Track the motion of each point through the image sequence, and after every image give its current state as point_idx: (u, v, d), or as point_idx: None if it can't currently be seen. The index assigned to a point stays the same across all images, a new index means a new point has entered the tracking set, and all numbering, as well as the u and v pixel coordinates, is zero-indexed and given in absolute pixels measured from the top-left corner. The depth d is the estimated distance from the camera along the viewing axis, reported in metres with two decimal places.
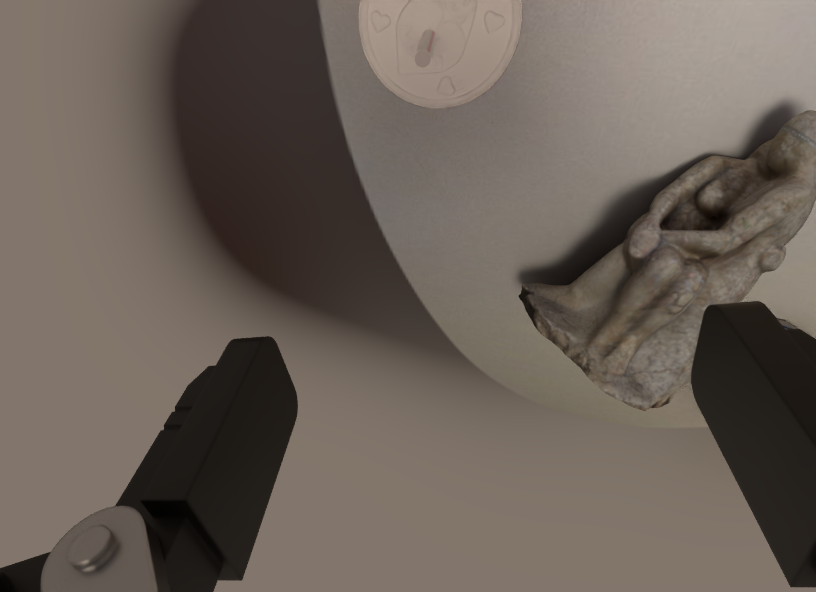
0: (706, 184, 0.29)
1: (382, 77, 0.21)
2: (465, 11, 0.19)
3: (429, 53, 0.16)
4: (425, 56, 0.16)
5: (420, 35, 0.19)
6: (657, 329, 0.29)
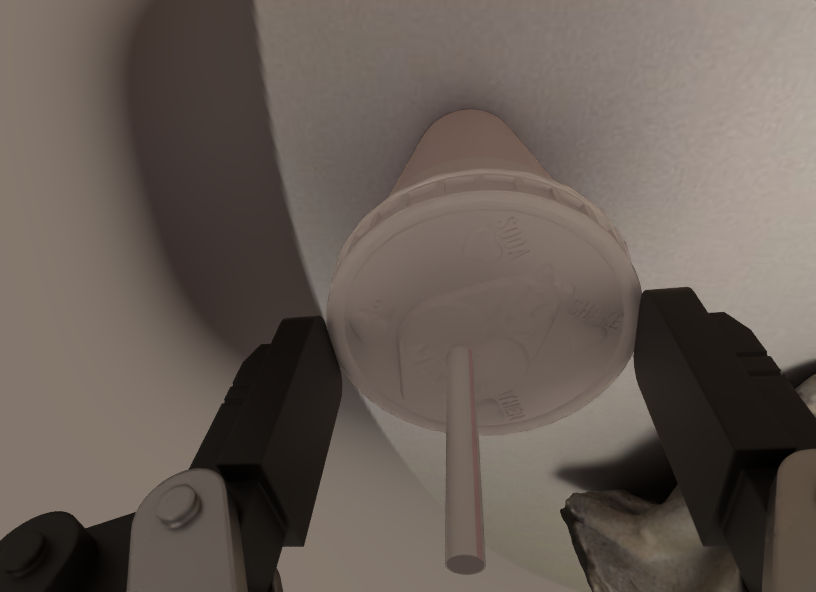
0: None
1: (372, 395, 0.11)
2: (533, 324, 0.10)
3: (481, 556, 0.07)
4: (470, 555, 0.07)
5: (444, 354, 0.10)
6: None
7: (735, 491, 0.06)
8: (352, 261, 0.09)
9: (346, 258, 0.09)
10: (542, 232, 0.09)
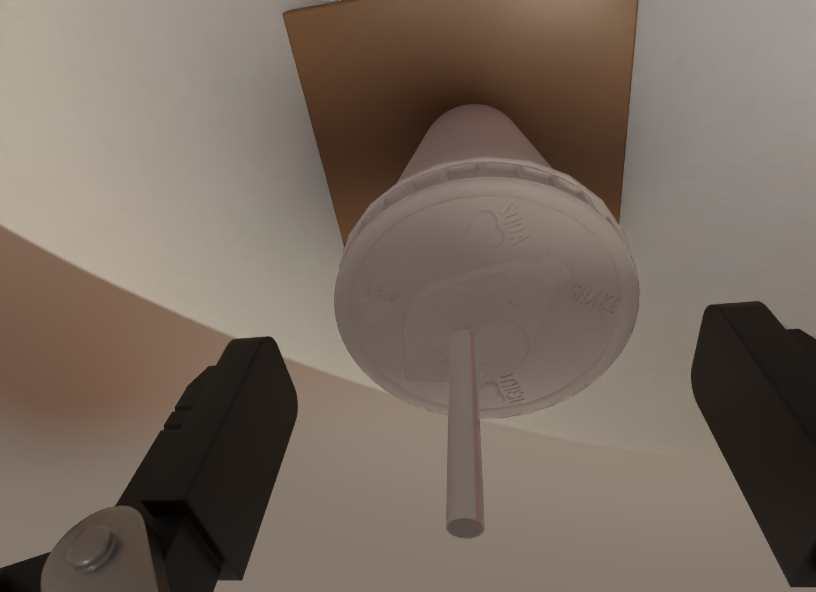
0: None
1: (378, 378, 0.12)
2: (533, 308, 0.10)
3: (480, 520, 0.07)
4: (470, 519, 0.07)
5: (447, 336, 0.11)
6: None
7: None
8: (359, 245, 0.10)
9: (354, 243, 0.10)
10: (542, 218, 0.09)
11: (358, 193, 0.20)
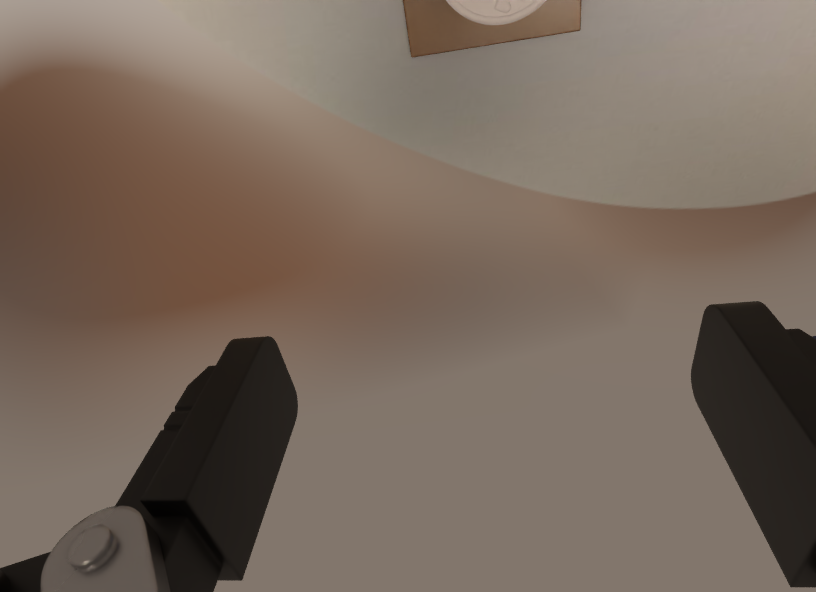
0: None
1: None
2: None
3: None
4: None
5: None
6: None
7: None
8: None
9: None
10: None
11: None
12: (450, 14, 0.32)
